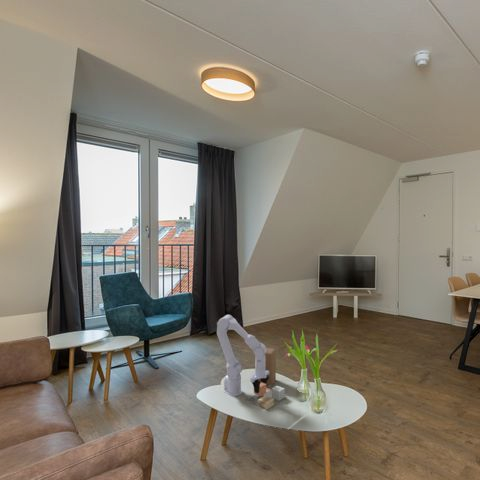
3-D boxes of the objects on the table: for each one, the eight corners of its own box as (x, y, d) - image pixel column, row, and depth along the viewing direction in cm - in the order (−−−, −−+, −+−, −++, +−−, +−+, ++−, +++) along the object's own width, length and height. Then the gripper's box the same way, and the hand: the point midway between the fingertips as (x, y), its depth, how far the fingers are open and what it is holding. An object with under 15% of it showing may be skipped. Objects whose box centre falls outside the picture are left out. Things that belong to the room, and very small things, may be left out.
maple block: (257, 405, 170) (257, 399, 170) (264, 400, 175) (264, 395, 175) (266, 409, 166) (266, 403, 166) (273, 404, 171) (273, 399, 171)
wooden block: (255, 384, 196) (255, 351, 195) (260, 377, 205) (261, 346, 205) (271, 387, 192) (271, 353, 192) (276, 380, 201) (276, 348, 201)
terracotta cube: (253, 393, 180) (253, 384, 179) (259, 390, 183) (259, 381, 183) (260, 396, 176) (260, 387, 176) (266, 393, 180) (266, 384, 180)
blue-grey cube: (271, 397, 179) (271, 388, 179) (277, 394, 182) (277, 385, 182) (279, 400, 175) (279, 391, 175) (284, 397, 179) (284, 388, 179)
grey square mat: (245, 400, 176) (245, 399, 176) (265, 389, 189) (265, 388, 189) (268, 411, 165) (268, 410, 165) (288, 398, 178) (288, 397, 178)
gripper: (257, 372, 171) (257, 398, 172) (273, 364, 182) (273, 388, 182) (247, 369, 176) (247, 393, 176) (263, 361, 187) (263, 384, 187)
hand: (259, 390), depth 180 cm, fingers closed on terracotta cube, 5 cm apart
